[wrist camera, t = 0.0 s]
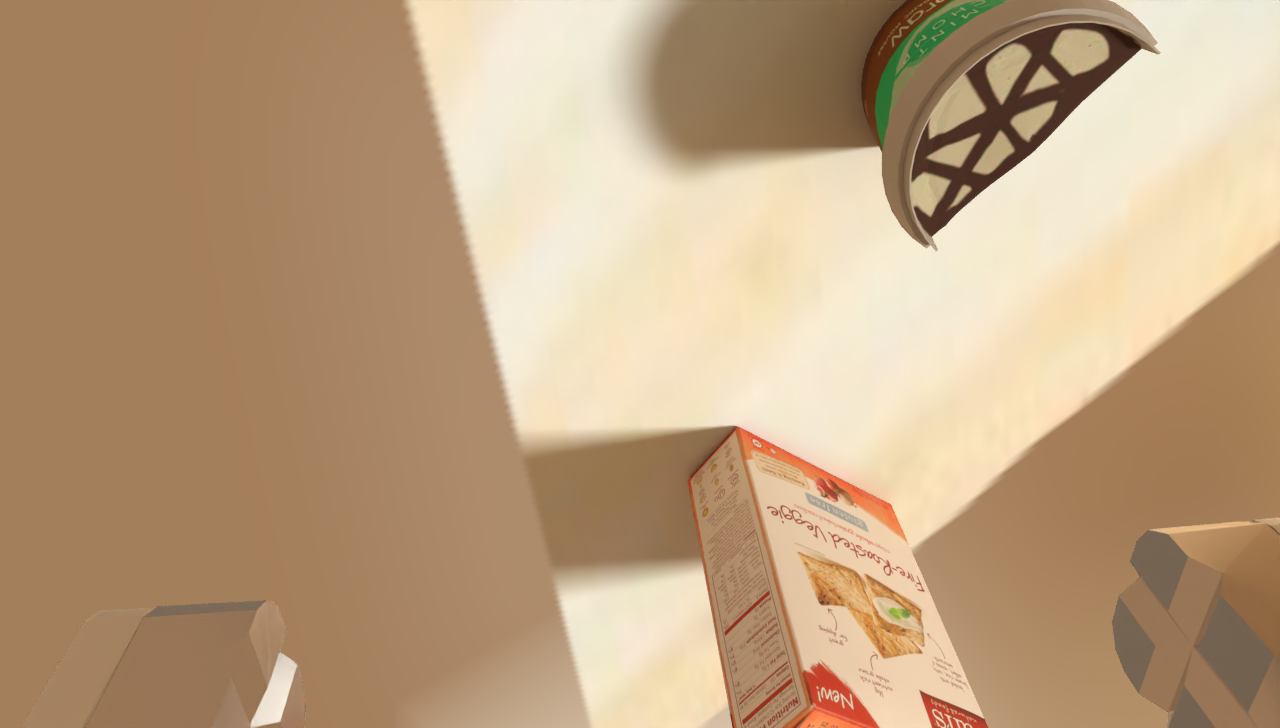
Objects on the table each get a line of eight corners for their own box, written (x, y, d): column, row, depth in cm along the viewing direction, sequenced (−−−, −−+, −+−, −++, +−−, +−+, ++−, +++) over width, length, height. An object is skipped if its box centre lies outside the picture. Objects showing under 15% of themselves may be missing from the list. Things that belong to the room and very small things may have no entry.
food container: (981, -114, 41) (1087, -68, 33) (1057, -22, 44) (1173, 42, 36) (785, 95, 46) (835, 179, 38) (864, 166, 49) (927, 259, 41)
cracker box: (895, 497, 64) (1020, 785, 47) (837, 550, 67) (936, 839, 50) (738, 418, 58) (817, 710, 42) (683, 478, 61) (735, 776, 44)
